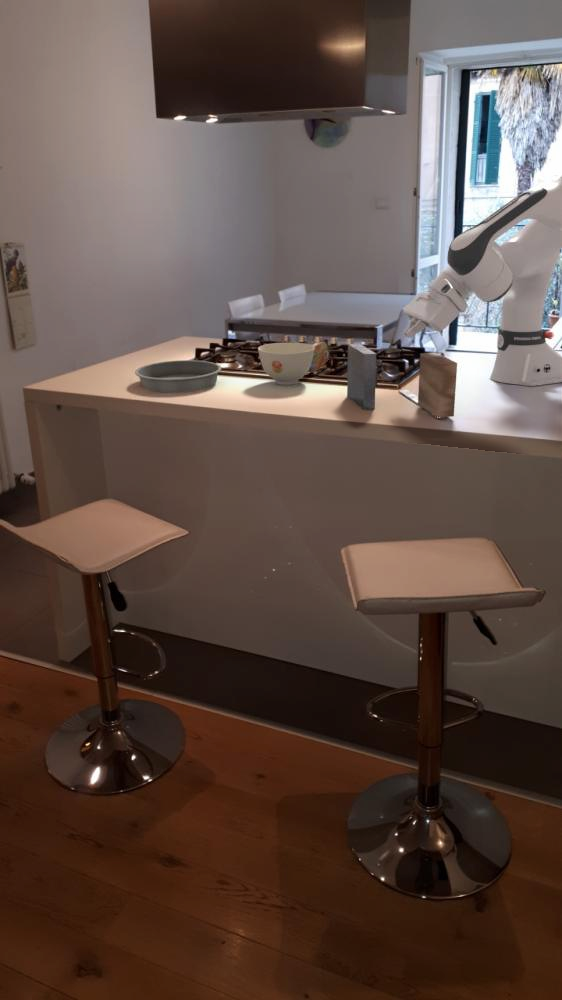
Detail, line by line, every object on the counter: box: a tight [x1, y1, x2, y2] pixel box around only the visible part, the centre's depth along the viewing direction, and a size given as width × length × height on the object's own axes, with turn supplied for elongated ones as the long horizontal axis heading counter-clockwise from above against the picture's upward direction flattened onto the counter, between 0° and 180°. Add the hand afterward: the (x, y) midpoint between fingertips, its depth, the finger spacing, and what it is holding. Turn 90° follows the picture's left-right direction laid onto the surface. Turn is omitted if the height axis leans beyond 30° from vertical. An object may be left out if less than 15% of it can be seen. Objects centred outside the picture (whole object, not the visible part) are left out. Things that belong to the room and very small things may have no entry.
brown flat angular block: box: [417, 352, 458, 419], centre depth 196 cm, size 4×13×13 cm, turn 12°
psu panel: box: [346, 342, 435, 417], centre depth 203 cm, size 17×27×14 cm, turn 12°
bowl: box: [257, 342, 315, 386], centre depth 229 cm, size 16×16×10 cm
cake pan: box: [134, 359, 222, 393], centre depth 232 cm, size 25×25×4 cm
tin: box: [308, 341, 331, 373], centre depth 243 cm, size 15×3×8 cm, turn 155°
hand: (406, 335), depth 201 cm, fingers closed
